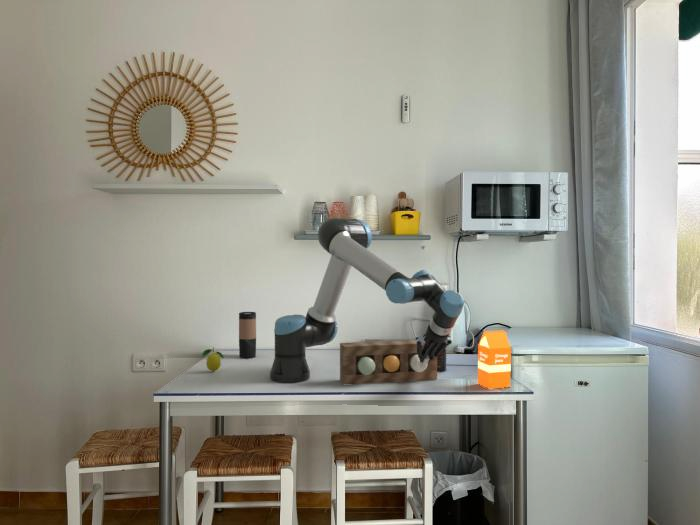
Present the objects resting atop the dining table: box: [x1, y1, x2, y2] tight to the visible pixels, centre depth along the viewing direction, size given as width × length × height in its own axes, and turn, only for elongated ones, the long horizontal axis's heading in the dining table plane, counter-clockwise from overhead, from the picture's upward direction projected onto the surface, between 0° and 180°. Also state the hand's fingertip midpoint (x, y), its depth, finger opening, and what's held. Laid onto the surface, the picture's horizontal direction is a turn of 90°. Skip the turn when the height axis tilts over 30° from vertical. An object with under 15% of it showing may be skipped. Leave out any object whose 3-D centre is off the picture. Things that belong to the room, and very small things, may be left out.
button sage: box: [357, 357, 375, 375], centre depth 186 cm, size 6×3×6 cm, turn 103°
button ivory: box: [410, 354, 428, 372], centre depth 191 cm, size 6×3×6 cm, turn 103°
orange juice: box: [477, 330, 512, 390], centre depth 186 cm, size 8×9×20 cm
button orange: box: [382, 354, 400, 372], centre depth 191 cm, size 6×3×6 cm, turn 103°
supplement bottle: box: [437, 348, 447, 373], centre depth 209 cm, size 7×7×12 cm
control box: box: [339, 339, 438, 385], centre depth 193 cm, size 36×7×14 cm, turn 103°
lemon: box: [201, 346, 225, 373], centre depth 204 cm, size 7×6×10 cm
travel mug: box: [238, 311, 257, 360], centre depth 231 cm, size 8×8×20 cm
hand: (421, 365), depth 187 cm, fingers closed
